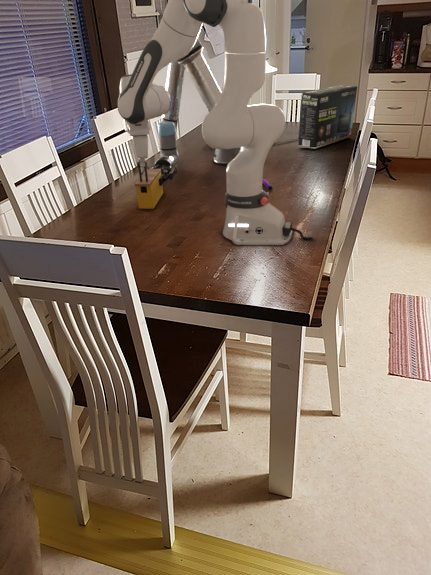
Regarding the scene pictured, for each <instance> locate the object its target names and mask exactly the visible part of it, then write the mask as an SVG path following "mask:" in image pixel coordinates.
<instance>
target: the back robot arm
mask: <svg viewBox="0 0 431 575" xmlns="http://www.w3.org/2000/svg"><path fill="white" fill-rule="evenodd" d="M203 49H204V47H203V44H202V43H201V41H200V39H199V36H198V37H197V40H196V42H195V44H194V46H193V48H192V49H191V51H190V52H189V53H188V54H187V55H186V56H185V57H183V58H181V59H179V60H176V61H174V62H172V63H170V64H168V65H167V70H166V81H165V87H164V88H165V89H166V90H167V92H168V94H169V96H170V109H169V111H168V112H167V113H166V114H164V115H163V116H161V120H160V122H159V123H158V124H157V133H158V134H157V135H158V142H159V155H160V156H159V157H158V158H157V160H156V161H155V162H154V165H153V166H151V167H149V166H148V165H147V169H161V177H160V178H159V186H161V185H163V184H164V183H165V182H167V181H168V180H170V181H171V180H173V179H174V177H175V175H176V174H178V167H177V166H176V165H177V164H178V163H179V160H180V153H179V151H178V149H177V148H178V146H177V131H178V124H179V115H180V108H181V102H182V95H183V87H184V80H185V76H186V72H187V74H188V76H189V78H190V80H191V82H192V84H193V86H194V88H195V90H196V91H197V93H198V95H199V97H200V98H201V100H202V102H203V105H204V106H205V108H206V109H207V112H208V113H209V112H210V111H211V110H212V109H213V108H214V106H215V105H216V103H217V101H218V99H219V97H220V94H221V91H222V89H221V88H220V86H219V85H218V83H217V81H216V79H215V77H214V75H213V73H212V71H211V70H210V69H211V68H210V67H209V65H208V64H207V61H206V58H205V57H204V55H203ZM240 149H241V147H238V148H232V149H214V153H213V154H212V158H213V163H214V164H216V165H219V166H228V164H229V162H230V161H231V160H233V159H234V158H235V157H236V156H237V155H238V153H239V151H240ZM144 172H145V169H144V168H143V170H141V174H143V173H144Z"/></svg>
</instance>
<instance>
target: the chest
mask: <svg viewBox="0 0 431 575" xmlns="http://www.w3.org/2000/svg"><path fill="white" fill-rule="evenodd" d="M160 177H161V172H160V173H159V175H158V176H157V177H156V179H155V180H154V181H153V183H152V184H151V186H135V190H136V198H137V205H138V209H139V210H140V209H146V210H147V209H149V210H150V209H155V207H156V205H157V204H158V202H159V201H160V199H161V197H162V196H163V194H164V188H163V184H162V185H161V186H159V178H160Z"/></svg>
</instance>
